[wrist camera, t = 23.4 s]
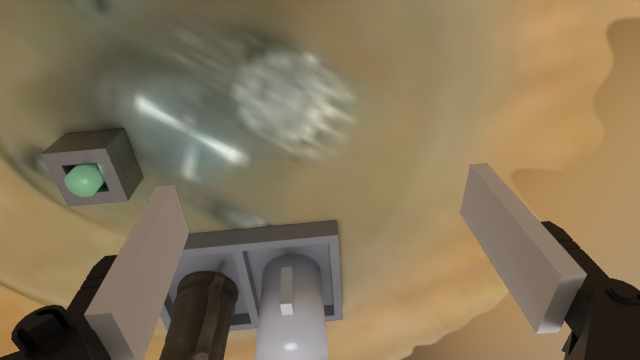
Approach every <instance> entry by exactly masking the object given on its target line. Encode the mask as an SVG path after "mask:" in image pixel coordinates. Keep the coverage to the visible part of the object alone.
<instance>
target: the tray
mask: <svg viewBox="0 0 640 360" xmlns="http://www.w3.org/2000/svg"><path fill="white" fill-rule="evenodd" d="M292 253H293V254H301V255H305V256H308V257H310V258H311V259H313V260H314V261H315V262H316V263H317V264H318V265H319V267H320V270H321V279H322V291H323V302H324V313H325V321H336V320H343V313H342V294H341V276H340V258H339V240H338V230H337V224H336V220H335V221H325V222H314V223H303V224H293V225H282V226H271V227H261V228H250V229H239V230H229V231H218V232H207V233H197V234H189V235H188V238H187V240H186V243H185V246H184V249H183V251H182V254H181V257H180V260H179V263H178V265H177V268H176V271H175V274H174V277H173V279H172V282H171V285H170V288H169V291H168V293H167V296H166V299H165V302H164V305H163V307H162V310H161V313H160V316H161V318H162V320H163V322H164V324H165V327H166V329H167V331H168V329H169V326H170V322H171V319H172V315H173V310H174V300H175V298H176V296H177V287H178V285H179V283H180V281H181V280H182V279H183V278H184V277H186V276H188V275H189V274H192V273H195V272H215V273H223V274H224V275H225V276H226V277H228V278H229V279H231V280H232V281H233V282H234V283H235V285H236V287H237V289H238V300H237V302H236V304H235V306H236V308H235V312H234V314H233V316H232V320H231V324H230V329H229V331H234V330H244V329H254V328H258V319H259V308H260V297H261V286H262V275H263V270H264V267H265V266H266V264H267V263H268V262H269V261H270V260H272V259H273V258H275V257H277V256H280V255H284V254H292Z"/></svg>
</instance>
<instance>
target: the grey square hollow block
mask: <svg viewBox="0 0 640 360" xmlns="http://www.w3.org/2000/svg"><path fill="white" fill-rule="evenodd" d="M40 155H41V157H42V159H43V161H44V162H45V164H46V166H47V168H48V170H49V172H50V174H51V175H52V177H53V179H54V181H55V183H56V185H57V186H58V188H59V190H60V192H61V194H62V196H63V198H64V199H65V201H66V203H67V205H68V207H69V206H80V205H91V204H102V203H113V202H124V201H128V200H129V199H130V197H131V196H132V194H133V193H134V191H135V190H136V188H137V187H138V185H139V184H140V182H141V180H142V179H143V176H142V173H141V170H140V168H139V165H138V163H137V160H136V157H135V155H134V152H133V150H132V147H131V144H130V142H129V139H128V137H127V134H126V131H125V129H124V128H122V129H111V130H99V131H88V132H77V133H66V134H64V135H63V136H62V137H61V138H59V139H58V140H57V141H56V142H55V143H53V144H52V145H51V146H50V147H48V148H47V149H46V150H45V151H44V152H42V153H41V154H40ZM96 162H97V164H98V167H99V169H100V171H101V173H102V175H103V178H104V180H105V182H104V183H103V184H102V185H101V187H100V188H99V189H98V190H97V192H96V193H95V194H94V195H92V196H89V197H81V196H78V195H75V194H73V193H72V192H71V191H69V190H68V188H67V187H66V185H65V181H64V180H65V177H66V175H67V174H68V173H69V172H70V171H71V170H72V169H73V168H74V167H75V166H76V165H77V164H85V163H96Z"/></svg>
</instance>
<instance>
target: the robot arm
mask: <svg viewBox="0 0 640 360" xmlns="http://www.w3.org/2000/svg"><path fill="white" fill-rule="evenodd" d="M460 214H461V215H462V217H463V219H464V220H465V222H466V223H467V225H468V226H469V228H470V230H471V231H472V233H473V234H474V236H475V238H476V239H477V241H478V242H479V244H480V245H481V247H482V249H483V250H484V252H485V253H486V255H487V257H488V258H489V260H490V261H491V263H492V264H493V266H494V268H495V269H496V271H497V272H498V274H499V276H500V277H501V279H502V280H503V282H504V283H505V285H506V287H507V288H508V290H509V291H510V293H511V295H512V296H513V298H514V299H515V301H516V302H517V304H518V305H519V307H520V309H521V310H522V312H523V314H524V315H525V317H526V318H527V320H528V321H529V323H530V324H531V326H532V328H533V329H534V331H535V332H536V334H543V333H554V332H559V330H560V328H561V326H562V324H563V322H564V320H565V322H566V323H567V324H568V326H569V327H570V328H571V330H572V331H571V333H570V335H569V337H568V339H567V341H566V343H565V345H564V347H563V349H562V351H563V352H566V353H565V358H564V360H640V291H639V290H638V289H637V288H635V287H634V286H632V285H630V284H628V283H626V282H624V281H620V280H617V279H613V278H609V277H608V276H607V275H606V274H605V273H604V272H603V271H602V270H601V268H599V266H598V265H597V264H596V263H595V262H594V261H593V260H592V259H591V258H590V257H589V256H588V255H587V254H586V253H585V252H584V251H583V250H582V249H580V247H579V246H578V245H577V244H576V243H575V242H574V241H573V240H572V238H571V237H570V236H569V235H568V234H567V233H566V232H565V231H564V230H563V229H562V228H560V227H558V226H556V225H555V224H553V223H552V222H550V221H545V222H539V220H538V219H537V218H536V217H535V216H534V215H533V214H532V213H531V212H530V210H529V209H528V208H527V207H526V206H525V205H524V204H523V203H522V202H521V200H520V199H519V198H518V197H517V196H516V195H515V194H514V193H513V192H512V190H511V189H510V188H509V187H508V186H507V185H506V184H505V183H504V182H503V180H502V179H501V178H500V177H499V176H498V175H497V174H496V173H495V172H494V170H493V169H492V168H491V167H490V166H489V165H488V164H487V163H483V164H470V168H469V173H468V178H467V183H466V187H465V192H464V197H463V202H462V207H461V212H460ZM188 235H189V233H188V229H187V226H186V223H185V219H184V216H183V213H182V210H181V206H180V203H179V200H178V197H177V193H176V190H175V187H174V185H173V186H159V187H156V188H155V190H154V192H153V193H152V195H151V197H150V199H149V201H148V202H147V204H146V206H145V208H144V209H143V211H142V213H141V215H140V216H139V218H138V220H137V222H136V224H135V225H134V227H133V229H132V231H131V232H130V234H129V236H128V238H127V240H126V241H125V243H124V245H123V247H122V248H121V250H120V252H119V254H118V255H111V256H105V257H104V258H102V259H101V260H100V261H99V262H98V263H97V264H96V265H95V266H93V268H92V270H91V271H90V273H89V274H88V276H87V278H86V280H85V281H84V283H83V284H82V286H81V287H80V290H79V291H78V292H77V294H76V295H75V297H74V299H73V300H72V302H71V304H70V305H69V307H68V308H67V310H65V309H64V308H63V307H62V306H58V305H50V306H45V307H42V308H40V309H37V310H35V311H33V312H32V313H30V314H29V315H27V316H25V317H24V318H23V319H22V320H21V321H20V322H19V323H18V324H17V325H16V327H15V328H14V330H13V332H12V338H11V340H12V341H13V342H14V343H15V345H16V346H17V347H18V348H19V350H20V351H18V352H15V353H12V354H9V355H6V356H3V357H0V360H144V358H145V355H146V352H147V349H148V346H149V344H150V341H151V338H152V335H153V332H154V330H155V327H156V324H157V321H158V318H159V316H160V313H161V310H162V307H163V305H164V302H165V299H166V296H167V293H168V291H169V288H170V285H171V282H172V279H173V277H174V274H175V271H176V268H177V265H178V263H179V260H180V257H181V254H182V251H183V249H184V246H185V243H186V240H187V238H188Z"/></svg>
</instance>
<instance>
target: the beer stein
mask: <svg viewBox="0 0 640 360" xmlns="http://www.w3.org/2000/svg"><path fill="white" fill-rule="evenodd" d="M237 300H238V289H237V287H236V285H235V283H234V282H233V281H232V280H231V279H229V278H228V277H226V276H225V275H224V274H223V273H215V272H195V273H192V274H189V275H188V276H186V277H184V278H183V279H182V280H181V281H180V283H179V285H178V287H177V296H176V298H175V300H174V310H173V315H172V319H171V322H170V326H169V329H168V332H167V336H166V339H165V345H164V348H163V350H162V353H161V356H160V359H159V360H223V359H224V353H225V348H226V342H227V337H228V333H229V329H230V324H231V320H232V316H233V314H234V312H235V308H236V306H235V304H236V302H237Z"/></svg>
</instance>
